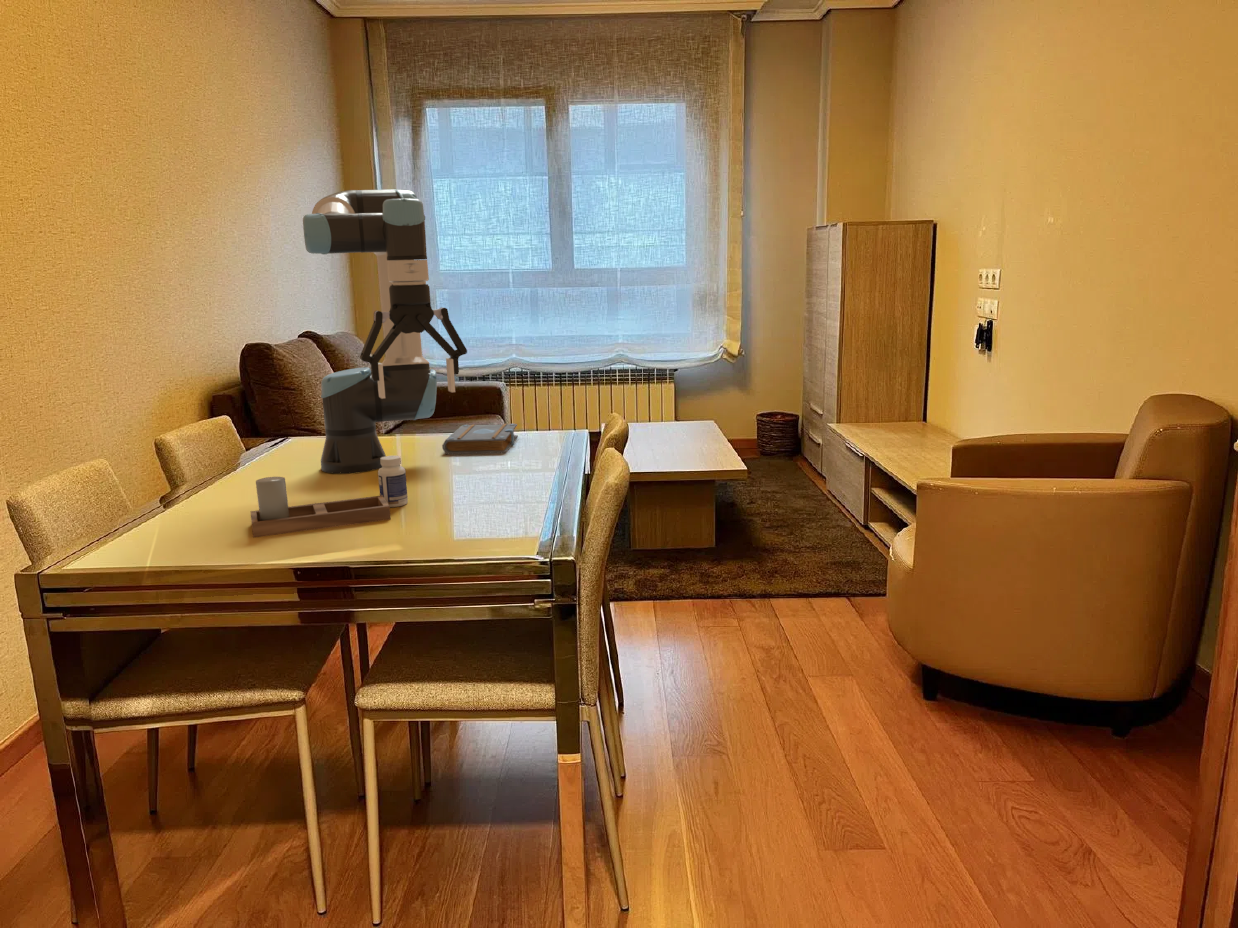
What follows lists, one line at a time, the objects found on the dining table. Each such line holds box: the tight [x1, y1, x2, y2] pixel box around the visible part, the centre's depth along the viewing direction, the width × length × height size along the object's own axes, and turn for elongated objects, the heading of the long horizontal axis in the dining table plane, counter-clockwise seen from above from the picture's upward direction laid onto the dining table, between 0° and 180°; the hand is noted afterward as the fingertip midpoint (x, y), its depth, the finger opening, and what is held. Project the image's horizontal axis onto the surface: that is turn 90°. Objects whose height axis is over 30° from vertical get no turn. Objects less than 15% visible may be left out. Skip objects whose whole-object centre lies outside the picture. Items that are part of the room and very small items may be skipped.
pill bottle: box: [377, 455, 409, 508], centre depth 185 cm, size 5×5×10 cm
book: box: [441, 422, 519, 455], centre depth 242 cm, size 21×16×5 cm
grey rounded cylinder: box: [255, 476, 289, 521], centre depth 167 cm, size 5×5×9 cm
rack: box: [250, 495, 392, 538], centre depth 171 cm, size 9×24×4 cm, turn 113°
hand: (417, 394), depth 179 cm, fingers open, 13 cm apart
